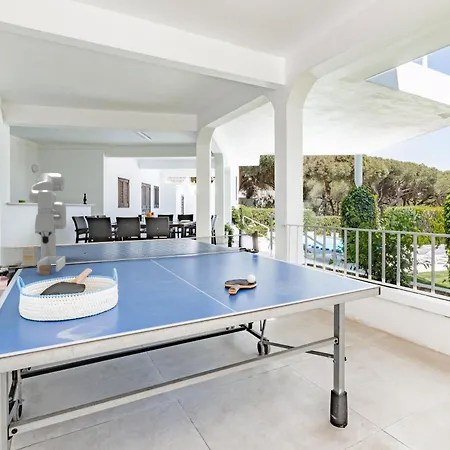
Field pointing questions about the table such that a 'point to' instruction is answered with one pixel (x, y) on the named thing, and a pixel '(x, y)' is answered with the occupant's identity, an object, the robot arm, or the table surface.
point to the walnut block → (44, 269)
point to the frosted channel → (52, 262)
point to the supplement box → (30, 255)
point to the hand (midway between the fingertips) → (45, 243)
